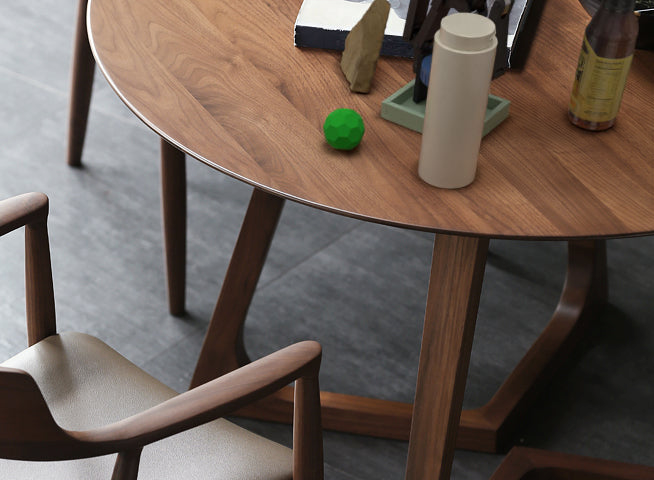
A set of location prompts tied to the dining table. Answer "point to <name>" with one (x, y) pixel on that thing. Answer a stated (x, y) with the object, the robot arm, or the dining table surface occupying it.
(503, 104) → the tray
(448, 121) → the jar
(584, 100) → the sauce bottle
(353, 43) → the rock
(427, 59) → the lid
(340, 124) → the polyhedron
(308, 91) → the dining table surface
